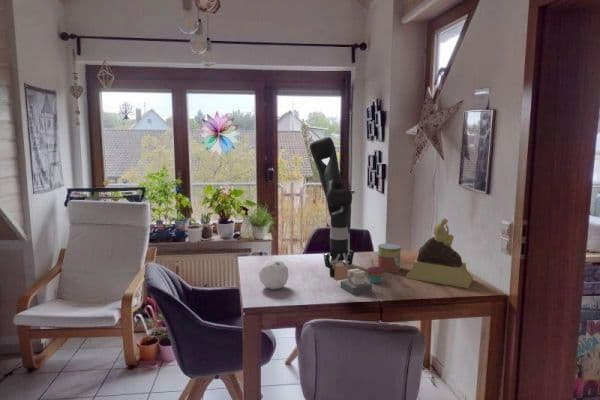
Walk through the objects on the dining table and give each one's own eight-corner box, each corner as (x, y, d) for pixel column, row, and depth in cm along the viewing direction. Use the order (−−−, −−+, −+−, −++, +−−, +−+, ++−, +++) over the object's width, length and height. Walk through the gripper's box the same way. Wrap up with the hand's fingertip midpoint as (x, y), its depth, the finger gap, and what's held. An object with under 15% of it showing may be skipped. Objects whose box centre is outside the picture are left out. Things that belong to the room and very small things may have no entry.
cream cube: (347, 281, 196) (347, 270, 195) (357, 280, 199) (358, 268, 198) (354, 285, 191) (354, 273, 190) (364, 283, 194) (365, 271, 193)
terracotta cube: (329, 276, 187) (329, 264, 186) (340, 274, 189) (340, 262, 188) (336, 280, 182) (336, 268, 181) (347, 278, 184) (347, 266, 183)
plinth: (340, 287, 198) (340, 281, 197) (359, 284, 202) (359, 278, 202) (352, 294, 189) (352, 288, 188) (371, 291, 193) (372, 284, 193)
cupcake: (370, 285, 201) (371, 259, 199) (363, 279, 209) (363, 255, 207) (387, 283, 203) (388, 258, 201) (379, 277, 211) (380, 253, 209)
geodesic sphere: (301, 277, 194) (288, 250, 198) (277, 284, 184) (264, 255, 189) (283, 290, 203) (271, 263, 207) (260, 297, 194) (248, 269, 198)
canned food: (394, 273, 218) (394, 250, 216) (373, 269, 224) (374, 246, 223) (403, 268, 226) (404, 245, 225) (383, 264, 233) (384, 242, 231)
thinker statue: (472, 280, 208) (476, 218, 204) (468, 288, 197) (471, 222, 193) (413, 271, 222) (416, 212, 218) (406, 278, 211) (408, 217, 207)
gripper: (328, 240, 176) (328, 281, 179) (358, 236, 183) (357, 275, 185) (319, 236, 183) (319, 275, 185) (348, 233, 189) (348, 270, 192)
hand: (338, 275), depth 185 cm, fingers closed on terracotta cube, 5 cm apart
